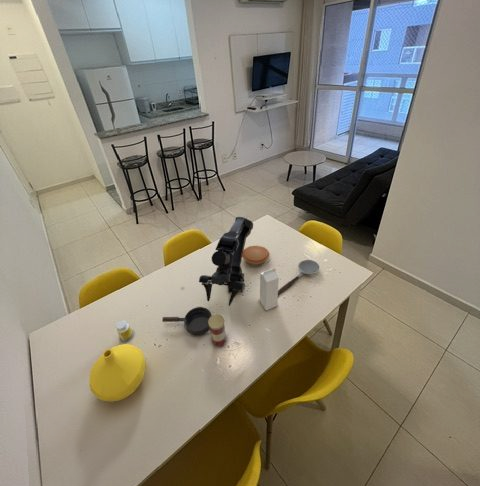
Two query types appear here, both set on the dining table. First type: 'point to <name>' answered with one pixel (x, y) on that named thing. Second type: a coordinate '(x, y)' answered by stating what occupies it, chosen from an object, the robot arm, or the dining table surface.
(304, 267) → the spoon
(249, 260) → the pie
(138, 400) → the dining table surface
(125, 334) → the supplement bottle
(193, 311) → the pan
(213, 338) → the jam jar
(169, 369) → the dining table surface
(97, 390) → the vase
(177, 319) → the pan handle
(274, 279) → the milk
